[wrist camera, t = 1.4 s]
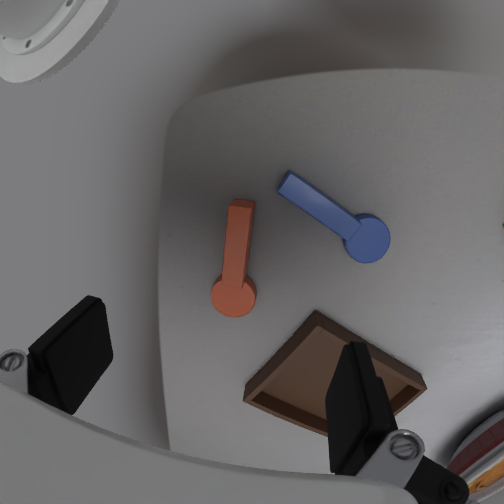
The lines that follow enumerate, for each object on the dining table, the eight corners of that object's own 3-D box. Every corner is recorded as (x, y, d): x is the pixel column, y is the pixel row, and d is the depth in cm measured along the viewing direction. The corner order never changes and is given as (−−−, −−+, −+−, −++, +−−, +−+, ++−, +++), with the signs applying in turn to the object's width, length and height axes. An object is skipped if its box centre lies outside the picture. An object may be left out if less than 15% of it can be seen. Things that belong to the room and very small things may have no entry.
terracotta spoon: (221, 196, 23) (213, 203, 20) (268, 203, 22) (267, 210, 20) (212, 306, 26) (205, 322, 23) (253, 313, 26) (250, 329, 23)
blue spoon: (270, 198, 22) (268, 204, 20) (297, 158, 21) (299, 159, 19) (367, 266, 23) (375, 279, 21) (394, 231, 22) (405, 241, 19)
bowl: (406, 457, 32) (418, 509, 23) (526, 358, 25) (560, 404, 16) (457, 474, 35) (468, 510, 26) (546, 402, 28) (566, 435, 18)
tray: (245, 384, 29) (242, 401, 26) (315, 309, 25) (317, 325, 23) (351, 430, 30) (353, 445, 28) (420, 374, 26) (427, 388, 24)
